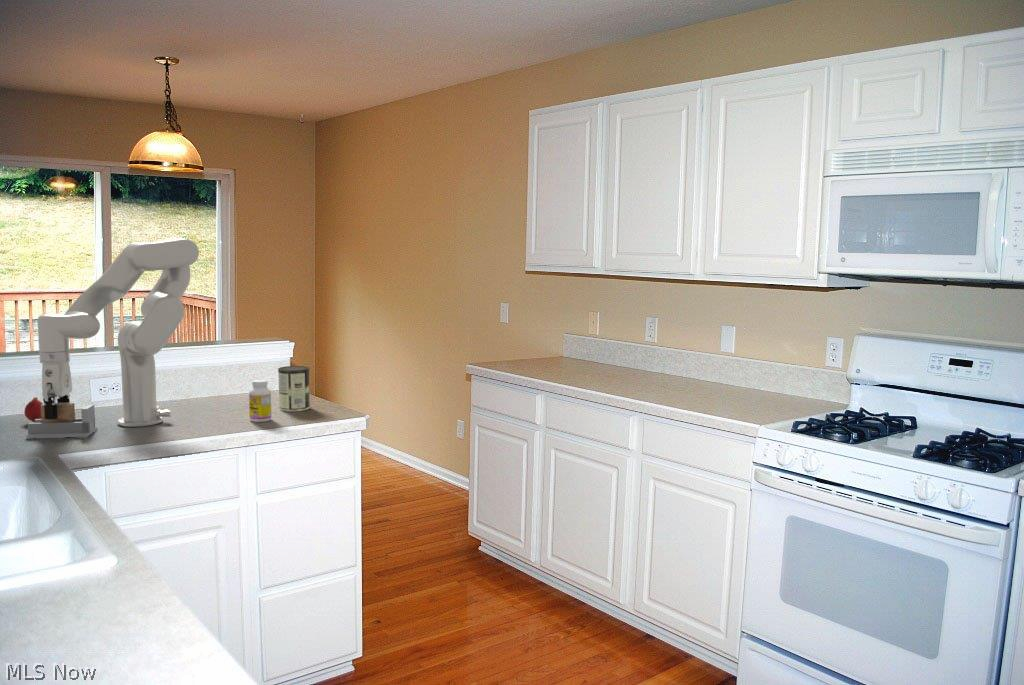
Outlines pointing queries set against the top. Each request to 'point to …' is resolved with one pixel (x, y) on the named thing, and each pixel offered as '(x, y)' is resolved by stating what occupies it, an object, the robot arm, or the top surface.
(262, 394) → the supplement bottle
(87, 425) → the track
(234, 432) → the top surface
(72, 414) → the door slab
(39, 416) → the onion
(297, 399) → the coffee can
